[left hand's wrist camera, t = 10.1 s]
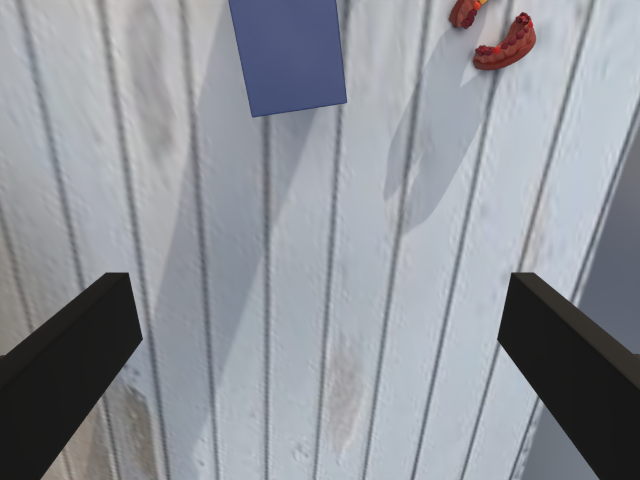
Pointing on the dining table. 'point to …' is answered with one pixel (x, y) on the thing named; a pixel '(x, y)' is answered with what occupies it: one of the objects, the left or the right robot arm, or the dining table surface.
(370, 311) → the dining table surface
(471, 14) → the dental model
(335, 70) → the bar
